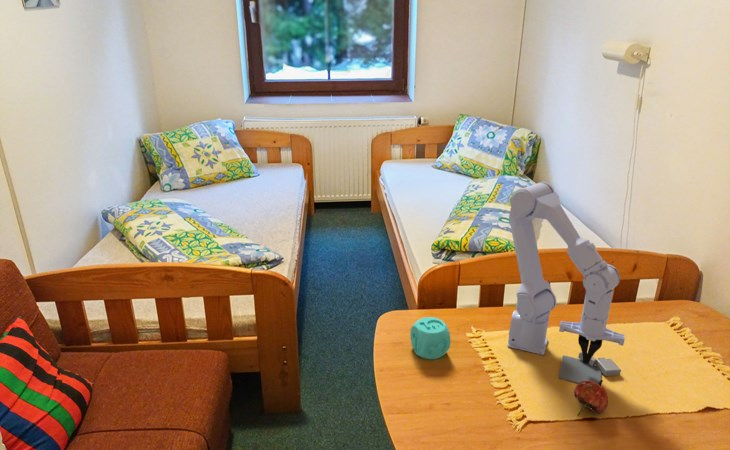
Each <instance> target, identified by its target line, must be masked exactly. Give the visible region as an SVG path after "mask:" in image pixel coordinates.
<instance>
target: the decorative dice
mask: <svg viewBox="0 0 730 450" xmlns="http://www.w3.org/2000/svg"><path fill="white" fill-rule="evenodd" d="M449 330H450V329H449V328H448V326H447V324H446V323H445V321H444V320H442V319H441V318H438V317H433V316H427V317H421V318H419V319H417V321H415V322H414V323H413V324H412V325H411V328H410V332H409V333H410V334H409V336H410V343H411V346H412V349H413V351H414V353H415V355H417V356H418V357H420V358H422V359H425V360H437V359H439V358H441V357H443V356H444V355H445V354H446V353H447V352H448V351H449V349H450V347H451V334H450V331H449Z"/></svg>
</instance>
